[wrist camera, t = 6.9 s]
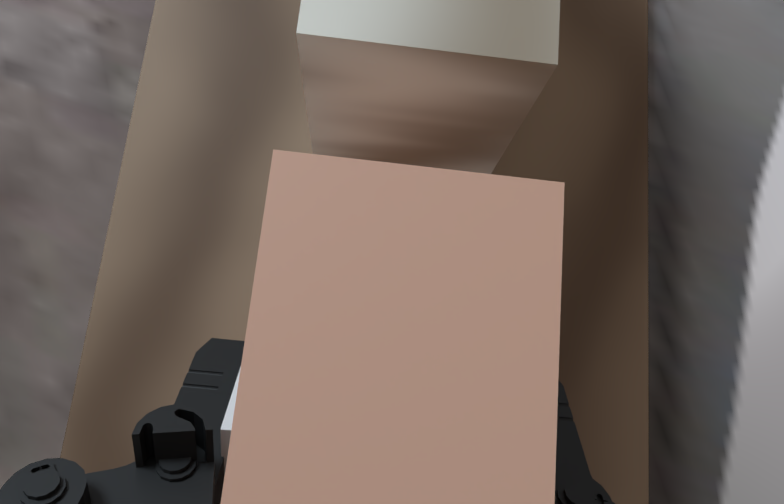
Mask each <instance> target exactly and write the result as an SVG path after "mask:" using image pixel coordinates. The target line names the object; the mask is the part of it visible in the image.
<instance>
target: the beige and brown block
mask: <svg viewBox="0 0 784 504" xmlns="http://www.w3.org/2000/svg"><path fill="white" fill-rule="evenodd" d="M273 149H274V150H283V151H292V152H301V153H309V154H318V155H327V156H336V157H345V158H353V159H362V160H371V161H380V162H389V163H397V164H406V165H415V166H424V167H432V168H441V169H450V170H459V171H468V172H476V173H485V174H494V175H503V176H512V177H520V178H529V179H538V180H547V181H556V182H564V183H565V186H564V218H563V250H562V282H561V314H560V345H559V377H558V380H559V381H560V382H561V383H562V385H563V386H564V389H565V392H566V396H567V399H568V402H569V407H570V409H571V412H572V415H573V422H575V425H576V428H577V432H578V435H579V438H580V441H581V445H582V448H583V451H584V455H585V458H586V461H587V464H588V468H589V471H590V474H591V476H592V478H593V479H594V480H595V481H596V482H598V483H599V484H601V485H602V486H603V488H604V489H605V490H606V492H607V493H608V494H609V496H610V497H611V500H612V502H614V503H615V504H649V393H648V0H156V1H155V6H154V11H153V15H152V20H151V25H150V30H149V34H148V39H147V44H146V49H145V54H144V58H143V63H142V68H141V73H140V78H139V82H138V87H137V92H136V97H135V101H134V106H133V111H132V116H131V121H130V125H129V130H128V135H127V140H126V145H125V149H124V154H123V159H122V164H121V169H120V173H119V178H118V183H117V188H116V192H115V197H114V202H113V207H112V212H111V216H110V221H109V226H108V231H107V236H106V240H105V245H104V250H103V255H102V260H101V264H100V269H99V274H98V279H97V283H96V288H95V293H94V298H93V303H92V307H91V312H90V317H89V322H88V327H87V331H86V336H85V341H84V346H83V351H82V355H81V360H80V365H79V370H78V374H77V379H76V384H75V389H74V394H73V398H72V403H71V408H70V413H69V418H68V422H67V427H66V432H65V437H64V441H63V446H62V451H61V456H60V458H64V459H67V460H70V461H74V462H76V463H77V464H78V465H79V466H80V467H82V468H83V469H84V471H85V474H87V473H92V472H98V471H103V470H109V469H114V468H118V467H122V466H126V465H128V464H130V463H132V462H135V456H134V449H133V441H132V432H133V430H134V428H135V426H136V424H137V422H139V421H140V420H141V419H142V418H143V417H144V416H145V415H146V414H147V413H149V412H151V411H153V410H155V409H157V408H159V407H162V406H168V405H173V404H174V403H175V401H176V398H177V396H178V394H179V391H180V389H181V387H182V386H183V382H184V379H185V377H186V375H187V373H188V372H189V367H190V365H191V363H192V360H193V358H194V356H195V353H196V352H197V351H198V350H199V349H200V348H201V347H202V346H203V345H204V344H205V343H207V342H208V341H209V340H210V339H211V338H219V339H229V340H240V341H245V335H246V329H247V322H248V315H249V309H250V302H251V295H252V288H253V282H254V275H255V268H256V262H257V255H258V248H259V241H260V235H261V228H262V221H263V215H264V208H265V201H266V194H267V188H268V181H269V174H270V168H271V161H272V154H273Z"/></svg>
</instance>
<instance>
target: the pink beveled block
mask: <svg viewBox="0 0 784 504" xmlns="http://www.w3.org/2000/svg"><path fill="white" fill-rule="evenodd" d="M564 186H565V183H564V182H556V181H547V180H538V179H529V178H520V177H512V176H503V175H494V174H485V173H476V172H468V171H459V170H450V169H441V168H432V167H424V166H415V165H406V164H397V163H389V162H380V161H371V160H362V159H353V158H345V157H336V156H327V155H318V154H309V153H301V152H292V151H283V150H274V149H273V154H272V161H271V168H270V174H269V181H268V188H267V194H266V201H265V208H264V215H263V221H262V228H261V235H260V241H259V248H258V255H257V262H256V268H255V275H254V282H253V288H252V295H251V302H250V309H249V315H248V322H247V329H246V335H245V342H244V349H243V356H242V362H241V369H240V376H239V382H238V389H237V396H236V403H235V409H234V416H233V423H232V429H231V436H230V443H229V450H228V456H227V463H226V470H225V476H224V483H223V490H222V497H221V503H220V504H555V473H556V441H557V409H558V377H559V345H560V314H561V282H562V250H563V218H564Z"/></svg>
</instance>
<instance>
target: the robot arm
mask: <svg viewBox="0 0 784 504" xmlns="http://www.w3.org/2000/svg"><path fill="white" fill-rule="evenodd" d="M244 342H245V341H240V340H229V339H219V338H211V339H210V340H209V341H208V342H207V343H205V344H204V345H203V346H202V347H201V348H200V349H199V350H198V351H197V352H196V353H195V356H194V358H193V360H192V363H191V365H190V367H189V372H188V373H187V375H186V377H185V379H184V382H183V386H182V387H181V389H180V391H179V394H178V396H177V398H176V401H175V403H174V404H173V405H168V406H162V407H159V408H157V409H155V410H153V411H151V412H149V413H147V414H146V415H145V416H144V417H143V418H142V419H141V420H140V421H139V422H137V424H136V426H135V428H134V430H133V432H132V441H133V449H134V456H135V462H132V463H130V464H128V465H126V466H122V467H118V468H114V469H109V470H103V471H98V472H92V473H87V474H85V471H84V469H83V468H82V467H80V466H79V465H78V464H77V463H76V462H74V461H70V460H67V459H64V458H54V459H44V460H41V461H38V462H35V463H31V464H29V465H27V466H26V467H24V468H22V469H21V470H19V471H17V472H16V473H15V474H14V475H13V476H12V477H11V478H10V479H9V480H8V481H7V482H6V483H5V484H4V485H3V487H2V488H1V489H0V504H220V503H221V497H222V490H223V483H224V476H225V470H226V463H227V456H228V450H229V443H230V436H231V429H232V423H233V416H234V409H235V403H236V396H237V389H238V382H239V376H240V369H241V362H242V356H243V349H244ZM555 504H615V503H614V502H612V500H611V497H610V496H609V494H608V493H607V492H606V490H605V489H604V488H603V486H602V485H601V484H599V483H598V482H596V481H595V480H594V479H593V478H592V476H591V474H590V471H589V468H588V464H587V461H586V458H585V455H584V451H583V448H582V445H581V441H580V438H579V435H578V432H577V428H576V425H575V422H573V415H572V412H571V409H570V407H569V402H568V399H567V396H566V392H565V389H564V386H563V385H562V383H561V382H560V381H559V380H558V409H557V441H556V473H555Z"/></svg>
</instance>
